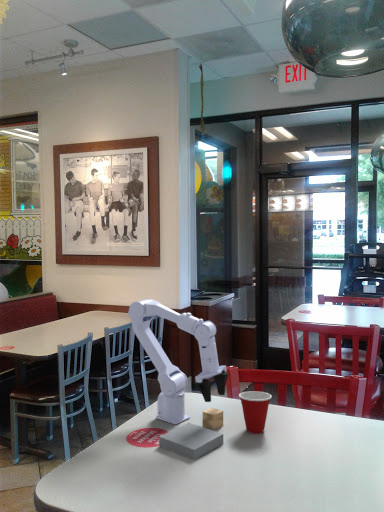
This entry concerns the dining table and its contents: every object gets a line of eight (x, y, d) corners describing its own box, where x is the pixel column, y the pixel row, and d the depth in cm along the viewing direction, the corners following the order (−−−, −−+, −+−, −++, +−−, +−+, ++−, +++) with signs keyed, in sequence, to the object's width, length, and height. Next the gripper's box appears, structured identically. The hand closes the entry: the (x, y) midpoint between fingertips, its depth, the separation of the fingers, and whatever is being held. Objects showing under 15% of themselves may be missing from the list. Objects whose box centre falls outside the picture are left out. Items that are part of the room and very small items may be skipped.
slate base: (159, 446, 145) (159, 436, 145) (189, 431, 156) (188, 422, 156) (194, 460, 136) (194, 449, 136) (223, 443, 147) (223, 433, 147)
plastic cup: (270, 423, 162) (270, 389, 161) (272, 437, 151) (272, 400, 150) (238, 422, 163) (238, 388, 162) (238, 436, 152) (238, 399, 151)
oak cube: (202, 426, 160) (202, 411, 160) (211, 421, 164) (211, 407, 164) (214, 430, 157) (214, 415, 157) (223, 425, 161) (223, 410, 161)
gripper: (204, 363, 152) (211, 405, 151) (231, 353, 163) (236, 392, 162) (188, 363, 156) (194, 404, 156) (215, 352, 167) (220, 391, 167)
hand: (214, 398), depth 159 cm, fingers open, 7 cm apart
